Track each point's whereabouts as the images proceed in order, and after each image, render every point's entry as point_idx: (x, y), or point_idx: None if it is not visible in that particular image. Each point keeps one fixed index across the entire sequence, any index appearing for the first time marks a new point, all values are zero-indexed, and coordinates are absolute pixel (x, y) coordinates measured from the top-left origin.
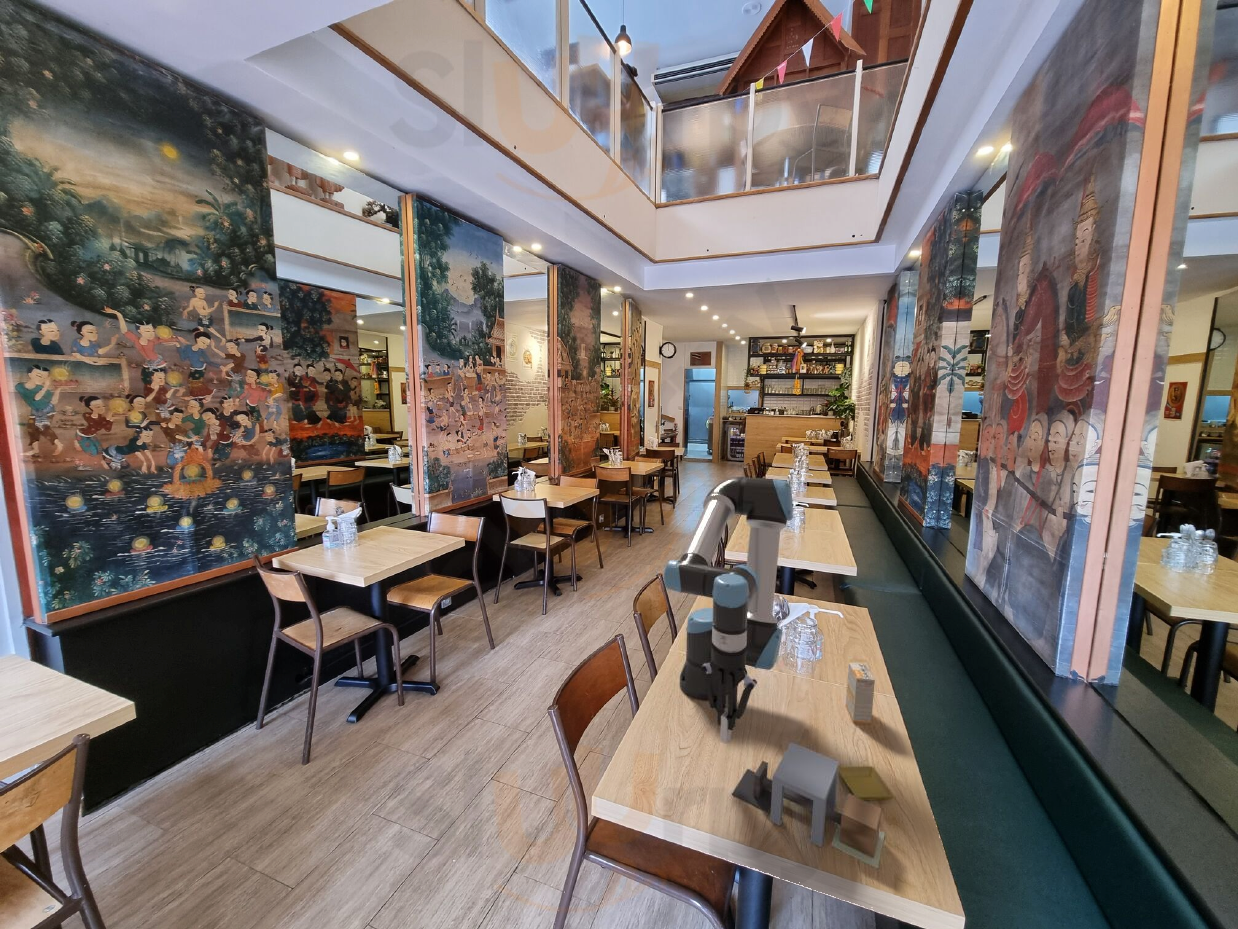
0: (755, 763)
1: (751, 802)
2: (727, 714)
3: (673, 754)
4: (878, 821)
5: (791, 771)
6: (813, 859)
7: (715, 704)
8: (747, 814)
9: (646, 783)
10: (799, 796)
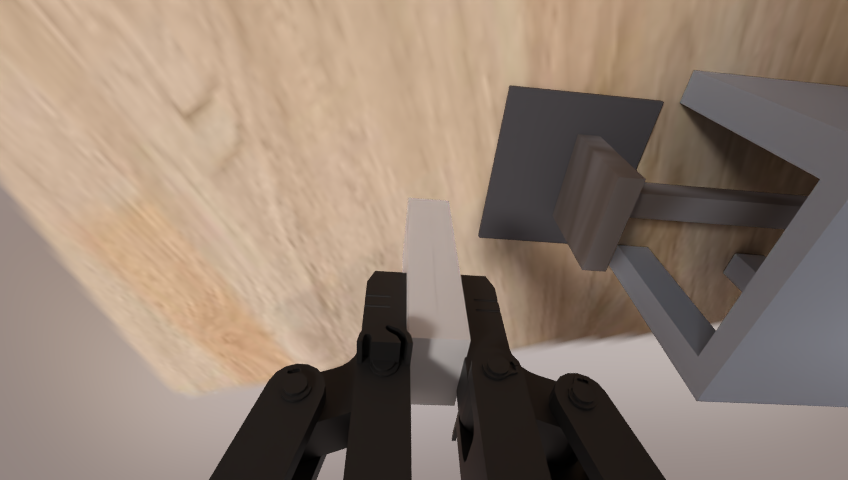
0: (540, 17)
1: (548, 238)
2: (457, 433)
3: (193, 168)
4: None
5: (796, 353)
6: (717, 311)
7: (325, 454)
8: (539, 275)
9: (220, 319)
10: (747, 213)
